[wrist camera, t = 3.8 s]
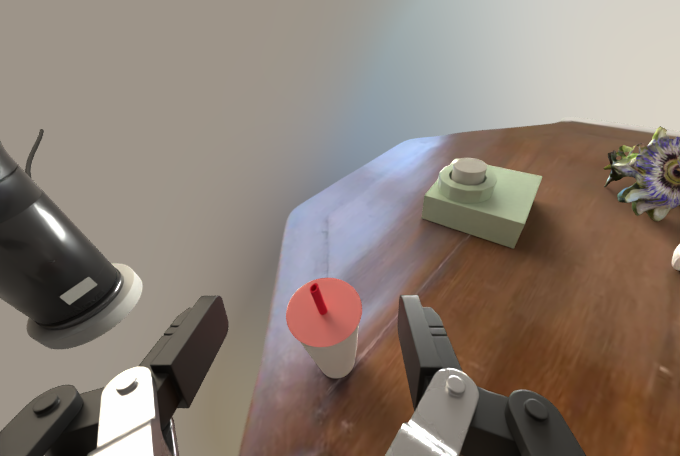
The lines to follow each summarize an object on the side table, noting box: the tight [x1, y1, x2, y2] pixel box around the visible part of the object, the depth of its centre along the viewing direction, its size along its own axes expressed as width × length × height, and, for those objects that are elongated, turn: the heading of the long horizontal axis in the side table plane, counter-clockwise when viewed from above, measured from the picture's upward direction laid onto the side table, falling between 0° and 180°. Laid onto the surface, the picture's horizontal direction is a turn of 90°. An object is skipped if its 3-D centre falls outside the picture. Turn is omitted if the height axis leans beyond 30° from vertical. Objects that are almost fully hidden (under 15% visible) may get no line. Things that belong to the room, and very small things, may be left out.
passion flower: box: [604, 127, 680, 221], centre depth 36 cm, size 11×11×12 cm
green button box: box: [422, 159, 542, 249], centre depth 38 cm, size 12×12×6 cm
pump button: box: [451, 158, 487, 185], centre depth 36 cm, size 4×4×2 cm
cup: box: [286, 278, 362, 378], centre depth 21 cm, size 5×5×12 cm
